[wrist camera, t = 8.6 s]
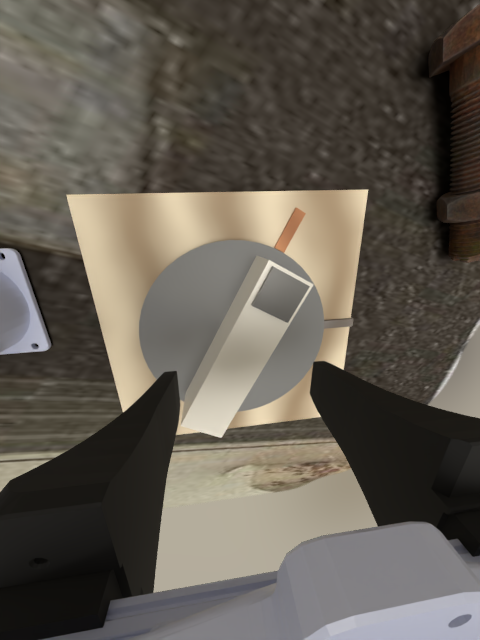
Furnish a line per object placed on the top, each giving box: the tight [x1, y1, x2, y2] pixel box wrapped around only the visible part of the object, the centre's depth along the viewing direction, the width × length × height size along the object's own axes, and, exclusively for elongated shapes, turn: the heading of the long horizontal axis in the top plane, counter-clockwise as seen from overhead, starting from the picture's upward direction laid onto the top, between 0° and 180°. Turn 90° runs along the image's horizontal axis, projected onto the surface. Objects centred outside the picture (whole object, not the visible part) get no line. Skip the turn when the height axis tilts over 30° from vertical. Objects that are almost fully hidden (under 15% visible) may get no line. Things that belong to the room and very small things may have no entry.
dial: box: [139, 240, 324, 438], centre depth 16 cm, size 14×14×5 cm
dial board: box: [66, 190, 368, 435], centre depth 19 cm, size 20×20×2 cm
